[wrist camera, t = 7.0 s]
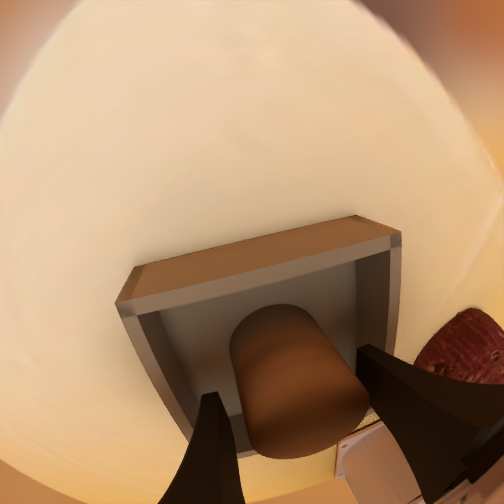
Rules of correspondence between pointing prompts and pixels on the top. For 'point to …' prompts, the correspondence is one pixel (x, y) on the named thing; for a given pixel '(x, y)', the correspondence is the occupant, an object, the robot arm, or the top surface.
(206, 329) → the grey bin
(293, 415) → the walnut cylinder
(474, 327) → the vegetable
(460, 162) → the top surface
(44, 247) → the top surface
